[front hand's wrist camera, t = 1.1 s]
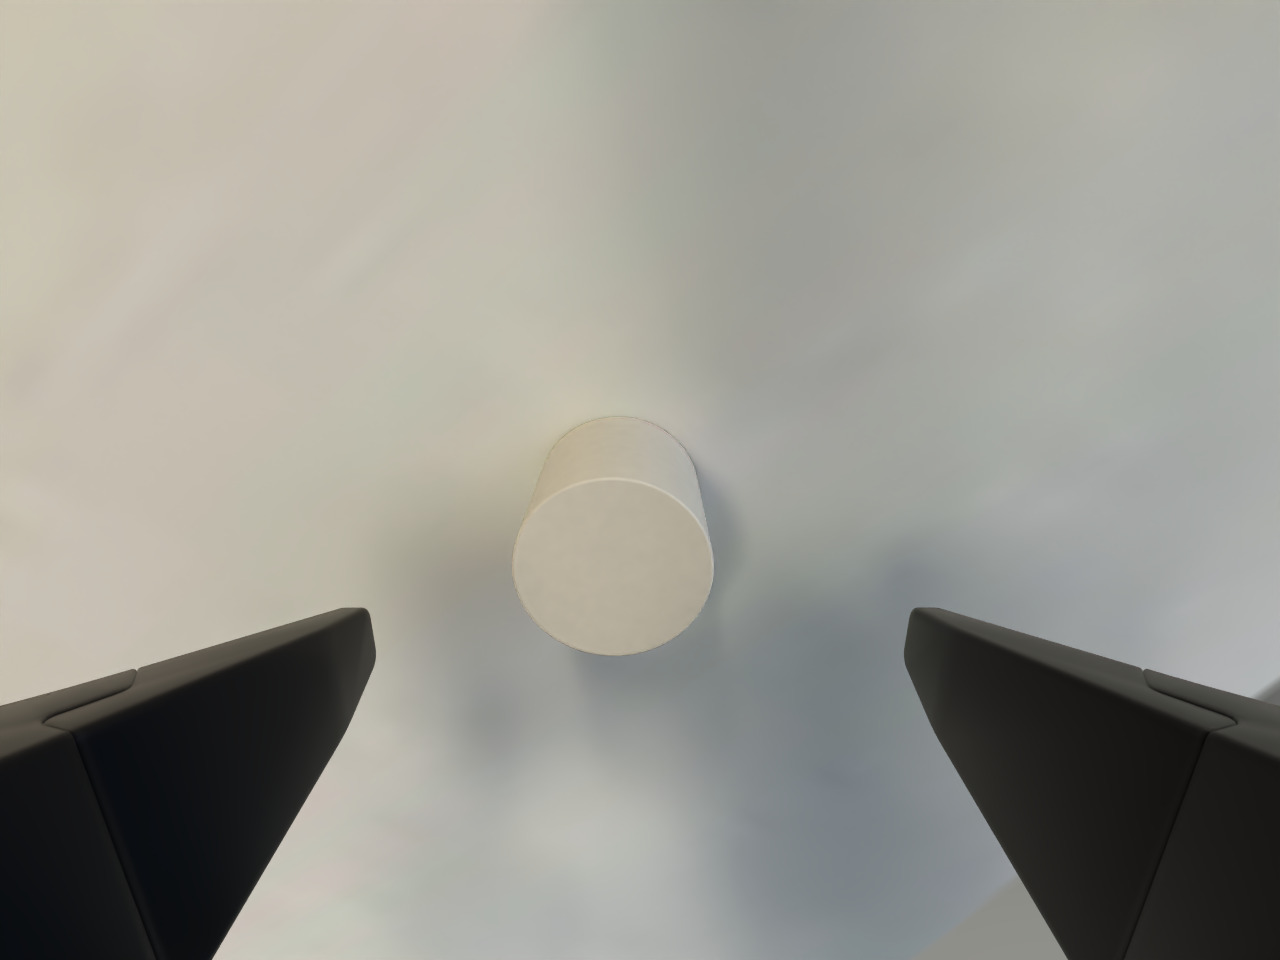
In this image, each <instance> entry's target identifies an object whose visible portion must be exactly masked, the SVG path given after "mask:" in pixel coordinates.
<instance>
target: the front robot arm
mask: <svg viewBox="0 0 1280 960" xmlns="http://www.w3.org/2000/svg"><path fill="white" fill-rule="evenodd" d="M375 659H376V648H375V642H374V636H373V630H372V624H371V618H370V614H369V612H368V610H367V609H365V608H340V609H337V610H333V611H330V612H327V613H323V614H320V615H316V616H313V617H310V618H306V619H303V620H300V621H296V622H293V623H289V624H286V625H283V626H279V627H276V628H273V629H269V630H266V631H262V632H259V633H256V634H252V635H249V636H245V637H242V638H239V639H235V640H232V641H229V642H225V643H222V644H218V645H215V646H212V647H208V648H205V649H202V650H198V651H195V652H191V653H188V654H185V655H181V656H178V657H175V658H171V659H168V660H164V661H161V662H158V663H154V664H151V665H148V666H144V667H141V668H139V669H138V670H137V671H136V670H135V669H131V670H128V671H124V672H121V673H117V674H114V675H111V676H107V677H104V678H100V679H97V680H93V681H90V682H86V683H83V684H79V685H76V686H72V687H69V688H65V689H61V690H58V691H54V692H50V693H47V694H43V695H39V696H36V697H32V698H28V699H25V700H21V701H17V702H13V703H10V704H6V705H2V706H0V960H212V959H213V957H214V955H215V954H216V952H217V950H218V948H219V947H220V945H221V943H222V942H223V940H224V938H225V937H226V935H227V933H228V931H229V930H230V928H231V926H232V925H233V923H234V921H235V920H236V918H237V916H238V915H239V913H240V911H241V909H242V908H243V906H244V904H245V903H246V901H247V899H248V898H249V896H250V894H251V892H252V891H253V889H254V887H255V886H256V884H257V882H258V881H259V879H260V877H261V875H262V874H263V872H264V870H265V869H266V867H267V865H268V864H269V862H270V860H271V858H272V857H273V855H274V853H275V852H276V850H277V848H278V847H279V845H280V843H281V841H282V840H283V838H284V836H285V835H286V833H287V831H288V830H289V828H290V826H291V825H292V823H293V821H294V819H295V818H296V816H297V814H298V813H299V811H300V809H301V808H302V806H303V804H304V802H305V801H306V799H307V797H308V796H309V794H310V792H311V791H312V789H313V787H314V785H315V784H316V782H317V780H318V779H319V777H320V775H321V774H322V772H323V770H324V768H325V767H326V765H327V763H328V762H329V760H330V758H331V757H332V755H333V753H334V751H335V750H336V748H337V746H338V745H339V743H340V741H341V739H342V738H343V736H344V734H345V732H346V730H347V728H348V726H349V724H350V721H351V719H352V717H353V715H354V712H355V710H356V708H357V705H358V703H359V701H360V698H361V696H362V693H363V691H364V689H365V686H366V684H367V682H368V679H369V677H370V675H371V672H372V670H373V668H374V665H375ZM904 659H905V665H906V668H907V670H908V673H909V675H910V677H911V680H912V682H913V684H914V687H915V689H916V691H917V694H918V696H919V698H920V701H921V703H922V705H923V708H924V710H925V712H926V715H927V717H928V719H929V722H930V724H931V726H932V728H933V730H934V732H935V734H936V736H937V738H938V739H939V741H940V743H941V745H942V746H943V748H944V750H945V752H946V753H947V755H948V757H949V758H950V760H951V762H952V763H953V765H954V767H955V768H956V770H957V772H958V774H959V775H960V777H961V779H962V780H963V782H964V784H965V785H966V787H967V789H968V791H969V792H970V794H971V796H972V797H973V799H974V801H975V802H976V804H977V806H978V808H979V809H980V811H981V813H982V814H983V816H984V818H985V819H986V821H987V823H988V825H989V826H990V828H991V830H992V831H993V833H994V835H995V836H996V838H997V840H998V842H999V843H1000V845H1001V847H1002V848H1003V850H1004V852H1005V853H1006V855H1007V857H1008V858H1009V860H1010V862H1011V864H1012V865H1013V867H1014V869H1015V870H1016V872H1017V874H1018V875H1019V877H1020V879H1021V881H1022V882H1023V884H1024V886H1025V887H1026V889H1027V891H1028V892H1029V894H1030V896H1031V898H1032V899H1033V901H1034V903H1035V904H1036V906H1037V908H1038V909H1039V911H1040V913H1041V915H1042V916H1043V918H1044V920H1045V921H1046V923H1047V925H1048V926H1049V928H1050V930H1051V931H1052V933H1053V935H1054V937H1055V938H1056V940H1057V942H1058V943H1059V945H1060V947H1061V948H1062V950H1063V952H1064V953H1065V955H1066V957H1067V959H1068V960H1280V706H1278V705H1274V704H1270V703H1267V702H1263V701H1259V700H1255V699H1252V698H1248V697H1244V696H1241V695H1237V694H1233V693H1230V692H1226V691H1222V690H1219V689H1215V688H1211V687H1208V686H1204V685H1201V684H1197V683H1194V682H1190V681H1187V680H1183V679H1180V678H1176V677H1173V676H1169V675H1166V674H1163V673H1159V672H1156V671H1152V670H1149V669H1145V670H1144V671H1143V670H1142V669H1141V668H1139V667H1136V666H1132V665H1129V664H1126V663H1122V662H1119V661H1116V660H1112V659H1109V658H1105V657H1102V656H1099V655H1095V654H1092V653H1089V652H1085V651H1082V650H1078V649H1075V648H1072V647H1068V646H1065V645H1062V644H1058V643H1055V642H1051V641H1048V640H1045V639H1041V638H1038V637H1034V636H1031V635H1028V634H1024V633H1021V632H1018V631H1014V630H1011V629H1007V628H1004V627H1001V626H997V625H994V624H991V623H987V622H984V621H980V620H977V619H974V618H970V617H967V616H964V615H960V614H957V613H953V612H950V611H947V610H943V609H940V608H915V609H913V610H912V612H911V614H910V618H909V624H908V630H907V636H906V642H905V648H904Z"/></svg>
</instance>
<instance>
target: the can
mask: <svg viewBox="0 0 1280 960" xmlns="http://www.w3.org/2000/svg"><path fill="white" fill-rule="evenodd" d="M512 574H513V581H514V585H515V588H516V592H517V594H518V596H519V599H520V601H521V603H522V605H523V606H524V608H525V610H526V611H527V613H528V614H529V615H530V617H531V618H532V619H533V621H534V622H535V623H536V624H537V625H538V626H539V627H540V628H541V629H542V630H544V631H545V632H546V633H547V634H549V635H550V636H551V637H553V638H554V639H556V640H558V641H559V642H561V643H563V644H565V645H567V646H569V647H572V648H574V649H577V650H580V651H583V652H587V653H592V654H597V655H606V656H624V655H631V654H637V653H641V652H645V651H649V650H651V649H654V648H657V647H659V646H661V645H663V644H665V643H667V642H669V641H671V640H672V639H674V638H675V637H677V636H678V635H680V634H681V633H682V632H683V631H684V630H685V629H686V628H688V627H689V626H690V624H691V623H692V622H693V621H694V620H695V619H696V618H697V616H698V615H699V613H700V612H701V610H702V609H703V607H704V605H705V603H706V601H707V599H708V597H709V594H710V590H711V587H712V583H713V577H714V559H713V551H712V546H711V541H710V537H709V532H708V527H707V522H706V518H705V513H704V508H703V503H702V499H701V494H700V489H699V484H698V479H697V475H696V472H695V468H694V466H693V464H692V461H691V459H690V457H689V456H688V454H687V453H686V451H685V450H684V448H683V447H682V446H681V445H680V444H679V442H678V441H677V440H675V439H674V438H673V437H672V436H671V435H670V434H668V433H667V432H666V431H664V430H663V429H661V428H659V427H657V426H655V425H653V424H651V423H648V422H645V421H643V420H639V419H634V418H627V417H608V418H601V419H597V420H593V421H590V422H587V423H585V424H583V425H580V426H578V427H577V428H575V429H573V430H572V431H570V432H569V433H568V434H566V435H565V436H564V437H563V438H562V439H561V440H560V441H559V442H558V443H557V444H556V445H555V446H554V447H553V449H552V450H551V452H550V453H549V455H548V457H547V459H546V460H545V462H544V465H543V468H542V471H541V473H540V476H539V479H538V481H537V484H536V487H535V490H534V492H533V495H532V498H531V500H530V503H529V506H528V509H527V511H526V514H525V517H524V519H523V522H522V525H521V527H520V530H519V533H518V536H517V538H516V541H515V544H514V549H513V555H512Z"/></svg>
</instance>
